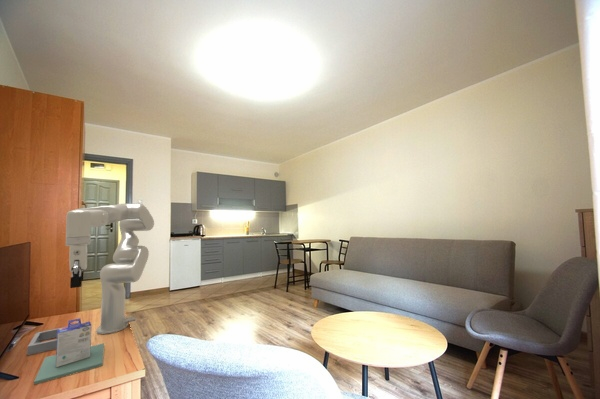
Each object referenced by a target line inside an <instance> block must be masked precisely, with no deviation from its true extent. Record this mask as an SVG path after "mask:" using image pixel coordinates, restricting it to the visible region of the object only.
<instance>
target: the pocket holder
mask: <svg viewBox="0 0 600 399" xmlns="http://www.w3.org/2000/svg"><path fill="white" fill-rule="evenodd" d="M65 327H68V325H67V326H63V327H59V328H54V329H48V330H43V331H39V332H35V334H34V335H33V337H32V338H31V340H30V342H29V344H28V345H27V347H26V348H27V349H26V351H27V353H26V356H32V355H36V354H39V353H43V352H48V351H53V350H54V351H55V350H56V345H57V330H58V329H61V328H65ZM50 339H51V340H50ZM45 340H46V341H45ZM41 341H42V342H41Z"/></svg>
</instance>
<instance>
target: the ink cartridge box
mask: <svg viewBox="0 0 600 399" xmlns="http://www.w3.org/2000/svg"><path fill="white" fill-rule="evenodd" d="M81 321H82V320H81V317H80V318H76V319H71V320H68V323H67V326H68V327H67V326H64V327H65V328H62V327H60V328H61V329H58V330H57V337H56V339H57V345H56V349H55V350H56V353H55V355H56V367H59V366H62V365H66V364H69V363H72V362H75V361H78V360H82V359H85V358H88V357H90V346H92V345H91V344H92V343H91V342H92V324H91V321H87V322H81ZM74 322H75V323H74Z"/></svg>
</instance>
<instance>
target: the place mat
mask: <svg viewBox="0 0 600 399" xmlns="http://www.w3.org/2000/svg"><path fill="white" fill-rule="evenodd" d="M104 348H105V343H99V344H95V345H91V346H90V357H88V358H85V359H82V360H78V361H75V362H72V363H69V364H66V365H62V366H59V367H56V354H54V355H53V354H52V355H49V356H46V357H44V359H43V361H42V364H41V366H40V368H39V370H38V373H37V374H36V376H35V378H34V380H33V386H35V385H38V384H43V383H46V382H49V381H48V380H50V381H53V380H56V378H57V379H61V378H63V376H64V377H67V376H70V374H71V375H74V374H73V373H75V374H77V373H76V372H78V373H81V372H80V371H82V372H85V371H89V370H92V369H96V368H99V367H102V366H103V363H104ZM84 370H85V371H84ZM66 375H67V376H66ZM52 379H53V380H52ZM45 381H46V382H45Z"/></svg>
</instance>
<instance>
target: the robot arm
mask: <svg viewBox="0 0 600 399" xmlns="http://www.w3.org/2000/svg"><path fill="white" fill-rule="evenodd" d="M65 220H66V224H65V225H66V227H65V247H69V254H68V255H69V256H68V261H69V262H68V263H69V264H68V265H69V271H70V272H71V276H70V289H75V288H76V289H77V288H81V287H82V286H83V285H82V284H83V283H82V282H83V281H84V271H85V270H87V268H88V245H91V239H92V238H91V235H92V234H91V232H92V228H101V227H104V226H106V225H107V224H114V223H118V222H119V223H118V225H119V231H120V235H121V239H120V241H119V243H118V245H117V247H116V249H115V251H114V253H113V254H112V255H113V256H112V260H113V262H114V263H108V264H105V265H104V266H103V267H102V268H100V272H99V278H100V284H101V307H100V308H101V309H100V326H98V327H97V328H96V330H95V332H96V334H99V335H108V334H109V335H110V334H114V333H117V332H120V331H123V330H124V329H126V328H128V326H129V323H130V322H135V321H136V316H128V317H127V316H126V314H125V312H126V311H125V310H126V288H125V286H124V284H125V283H127V284H129V283H136V282H139V280H140V278H142V275H143V272H144V270H145V267H146V264H147V262H148V260H149V256H150V253H149V252H150V251H149V248H148V247H147V246H145V245H139V244H140V239H139V237H138V236H137V235H136V234H135V232H147V231H149V232H150V231H151V230H152V229H153V228H154V226H155V221H154V217H153V216H152V214H151V212H150V211H149V209H148V208H147V207H146V205H144V204H143V203H118V204H112V205H103V206H101V205H100V206H93V207H83V208H76V209H73V210H69V211H67V213H66V218H65Z"/></svg>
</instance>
